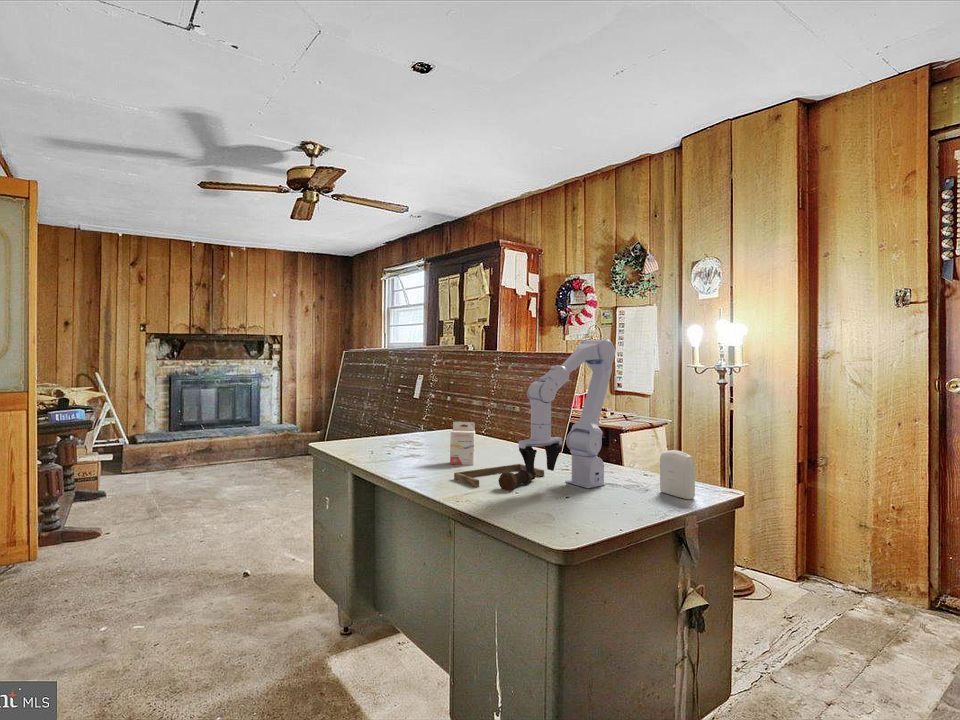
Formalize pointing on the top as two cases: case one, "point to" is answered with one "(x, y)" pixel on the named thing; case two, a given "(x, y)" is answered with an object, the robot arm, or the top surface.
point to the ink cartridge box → (462, 444)
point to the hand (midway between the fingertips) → (540, 471)
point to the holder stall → (489, 473)
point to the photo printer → (677, 474)
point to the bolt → (515, 479)
